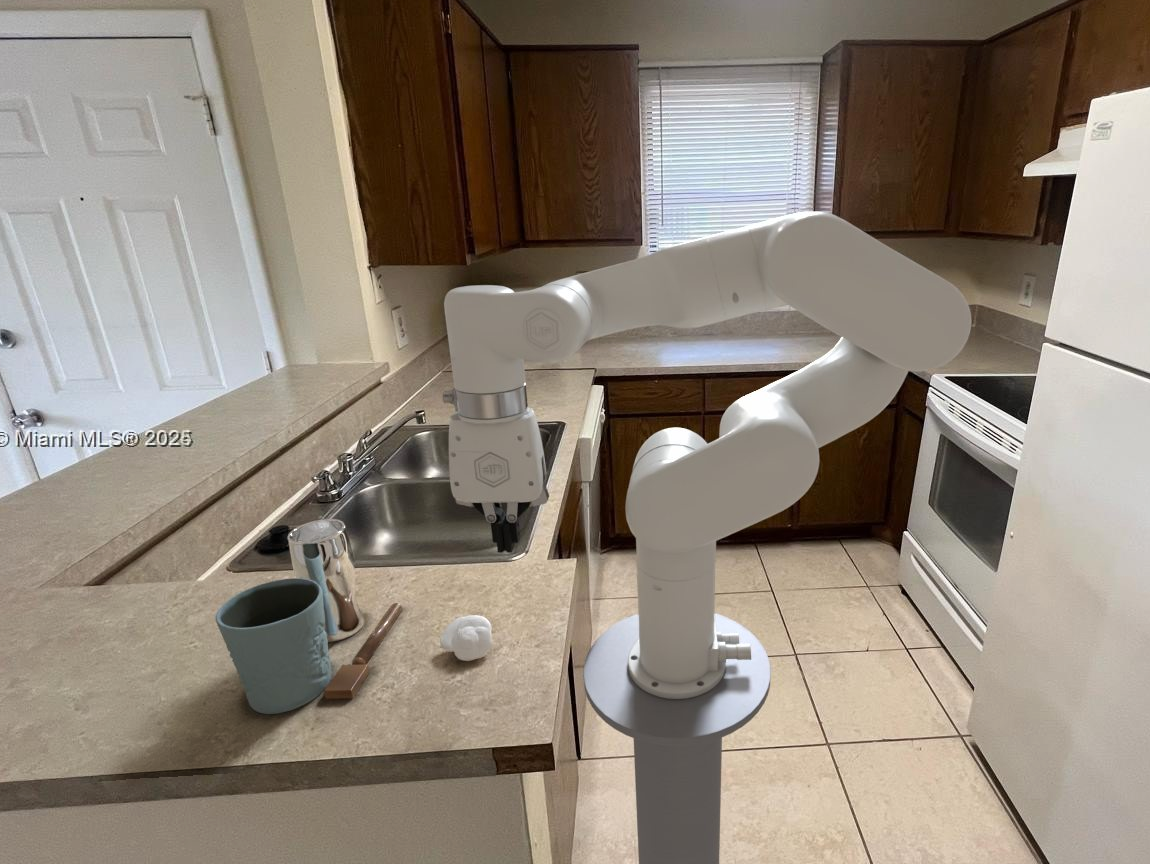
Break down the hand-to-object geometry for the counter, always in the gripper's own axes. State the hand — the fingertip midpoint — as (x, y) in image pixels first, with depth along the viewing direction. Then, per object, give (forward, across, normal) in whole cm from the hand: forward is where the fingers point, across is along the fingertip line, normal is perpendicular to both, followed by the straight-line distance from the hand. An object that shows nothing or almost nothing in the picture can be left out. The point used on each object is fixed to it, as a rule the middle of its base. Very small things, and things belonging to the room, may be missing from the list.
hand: (507, 546), depth 74 cm
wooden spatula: (+15, -19, 0) cm, 24 cm away
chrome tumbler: (+16, -26, +5) cm, 30 cm away
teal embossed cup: (+16, -26, -6) cm, 30 cm away
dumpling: (+15, -6, 0) cm, 17 cm away
